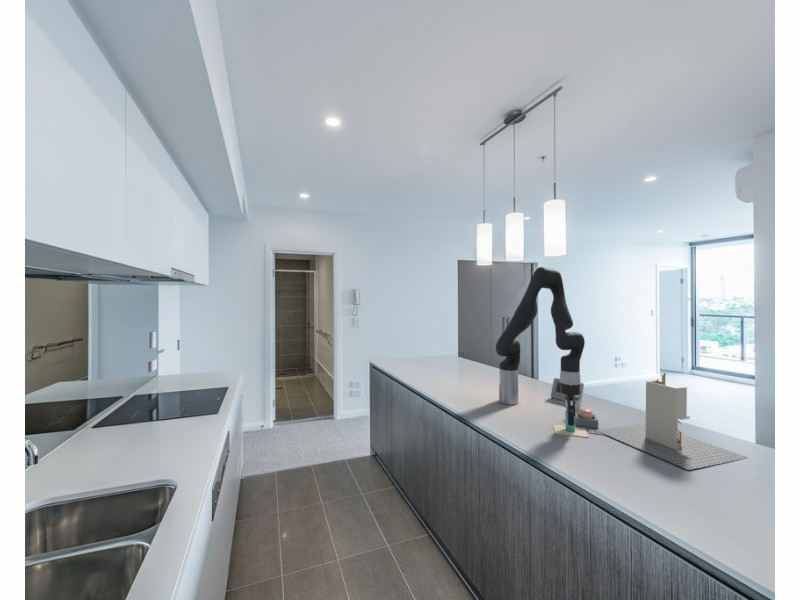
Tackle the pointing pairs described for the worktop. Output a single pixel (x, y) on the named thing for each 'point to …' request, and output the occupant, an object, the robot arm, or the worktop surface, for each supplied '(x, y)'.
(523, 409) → the worktop surface
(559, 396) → the digital clock
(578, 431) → the sketch pad
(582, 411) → the button
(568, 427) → the marker teal
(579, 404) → the marker grey
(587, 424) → the button housing
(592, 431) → the card
